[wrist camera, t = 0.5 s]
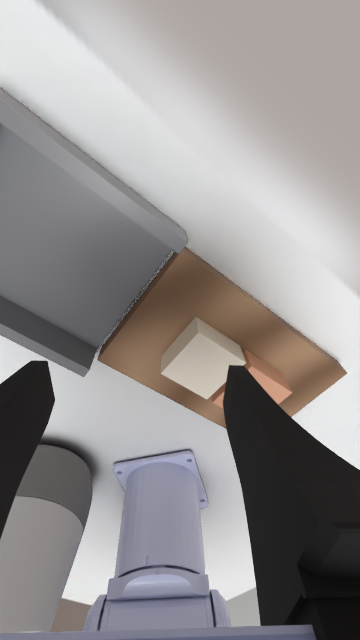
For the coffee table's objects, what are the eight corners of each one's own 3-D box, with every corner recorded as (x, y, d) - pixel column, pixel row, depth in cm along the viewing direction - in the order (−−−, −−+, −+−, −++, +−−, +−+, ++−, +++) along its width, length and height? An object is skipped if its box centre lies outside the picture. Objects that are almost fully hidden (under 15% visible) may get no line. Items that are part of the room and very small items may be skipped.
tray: (185, 230, 19) (187, 242, 16) (92, 353, 23) (83, 376, 21) (-2, 85, 15) (-35, 73, 13) (-71, 264, 19) (-105, 281, 17)
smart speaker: (74, 502, 33) (19, 710, 21) (-12, 476, 30) (-134, 697, 18) (115, 454, 29) (77, 672, 17) (20, 419, 26) (-105, 649, 14)
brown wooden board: (337, 361, 24) (347, 373, 23) (251, 430, 28) (255, 444, 27) (181, 243, 19) (182, 250, 18) (101, 348, 23) (97, 359, 22)
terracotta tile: (283, 374, 23) (292, 392, 21) (246, 405, 24) (252, 425, 23) (245, 348, 22) (251, 366, 20) (209, 383, 23) (212, 402, 21)
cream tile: (239, 345, 21) (246, 362, 20) (204, 380, 23) (206, 399, 21) (196, 316, 20) (198, 332, 18) (161, 355, 22) (160, 373, 20)
